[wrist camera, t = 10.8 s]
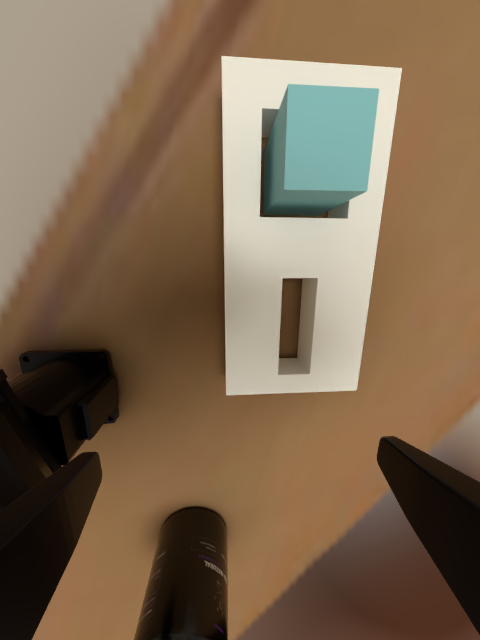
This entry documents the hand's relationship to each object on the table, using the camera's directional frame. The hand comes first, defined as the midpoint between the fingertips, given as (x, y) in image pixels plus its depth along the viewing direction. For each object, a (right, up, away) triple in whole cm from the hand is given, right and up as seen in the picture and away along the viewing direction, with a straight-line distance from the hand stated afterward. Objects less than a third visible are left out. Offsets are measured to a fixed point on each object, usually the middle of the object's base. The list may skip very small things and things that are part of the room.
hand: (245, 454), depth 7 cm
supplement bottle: (-5, -17, +17) cm, 25 cm away
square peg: (+4, +14, +9) cm, 17 cm away
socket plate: (+4, +9, +10) cm, 14 cm away
